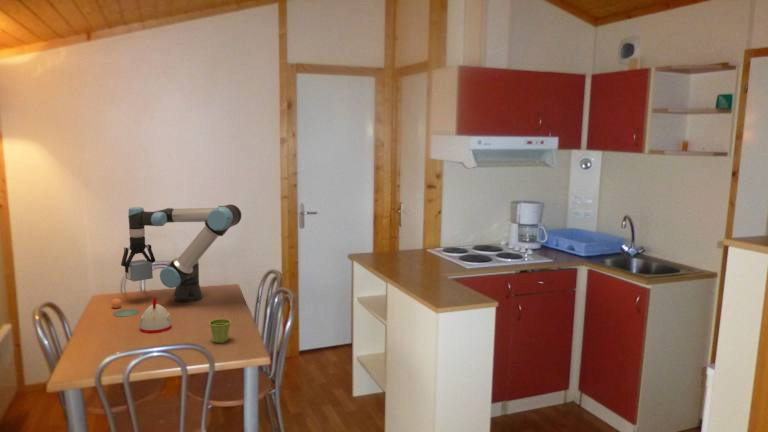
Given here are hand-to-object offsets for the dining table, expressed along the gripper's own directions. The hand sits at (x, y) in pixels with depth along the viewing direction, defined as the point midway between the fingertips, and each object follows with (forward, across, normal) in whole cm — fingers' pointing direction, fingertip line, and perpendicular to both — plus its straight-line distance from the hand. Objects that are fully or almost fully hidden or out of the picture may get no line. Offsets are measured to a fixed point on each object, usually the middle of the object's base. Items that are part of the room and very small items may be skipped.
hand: (139, 276), depth 308 cm
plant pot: (+15, -1, +81) cm, 83 cm away
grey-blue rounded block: (+1, 0, 0) cm, 1 cm away
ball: (+12, +13, +1) cm, 18 cm away
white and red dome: (+15, +13, +46) cm, 50 cm away
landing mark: (+14, +13, +13) cm, 24 cm away
